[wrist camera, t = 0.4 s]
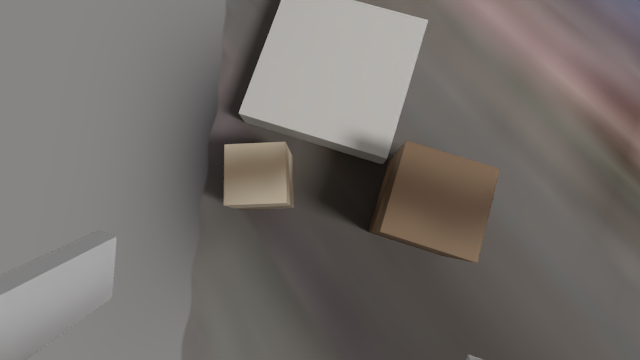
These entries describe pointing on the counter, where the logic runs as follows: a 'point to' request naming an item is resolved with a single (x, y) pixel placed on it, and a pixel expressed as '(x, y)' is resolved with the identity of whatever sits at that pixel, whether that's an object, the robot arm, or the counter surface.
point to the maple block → (258, 176)
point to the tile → (335, 75)
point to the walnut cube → (435, 201)
